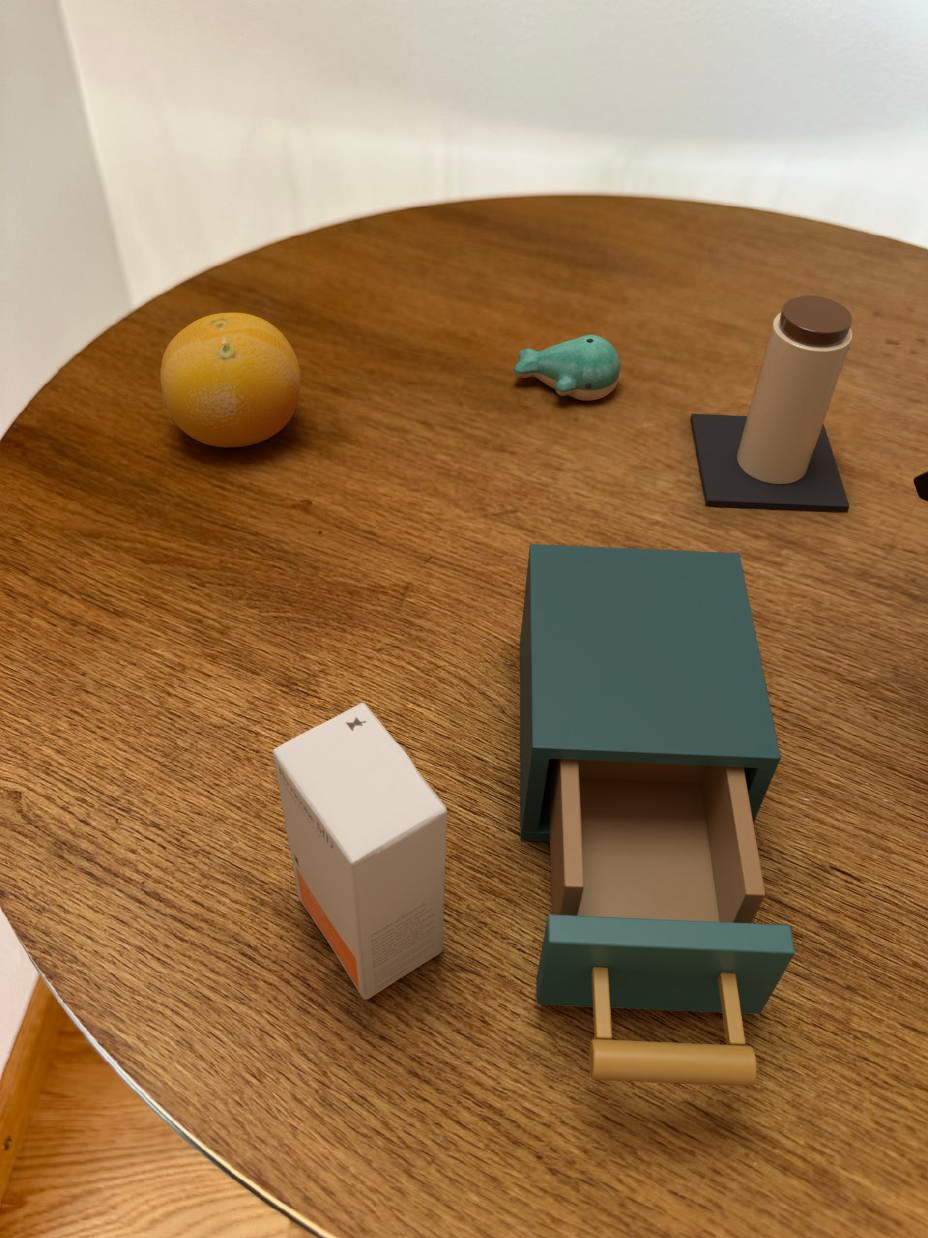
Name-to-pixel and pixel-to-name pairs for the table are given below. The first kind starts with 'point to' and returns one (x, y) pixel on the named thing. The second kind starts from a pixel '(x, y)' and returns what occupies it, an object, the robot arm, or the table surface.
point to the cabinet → (639, 668)
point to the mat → (739, 489)
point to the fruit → (230, 380)
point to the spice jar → (794, 388)
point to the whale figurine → (574, 367)
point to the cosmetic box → (365, 846)
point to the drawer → (658, 912)
